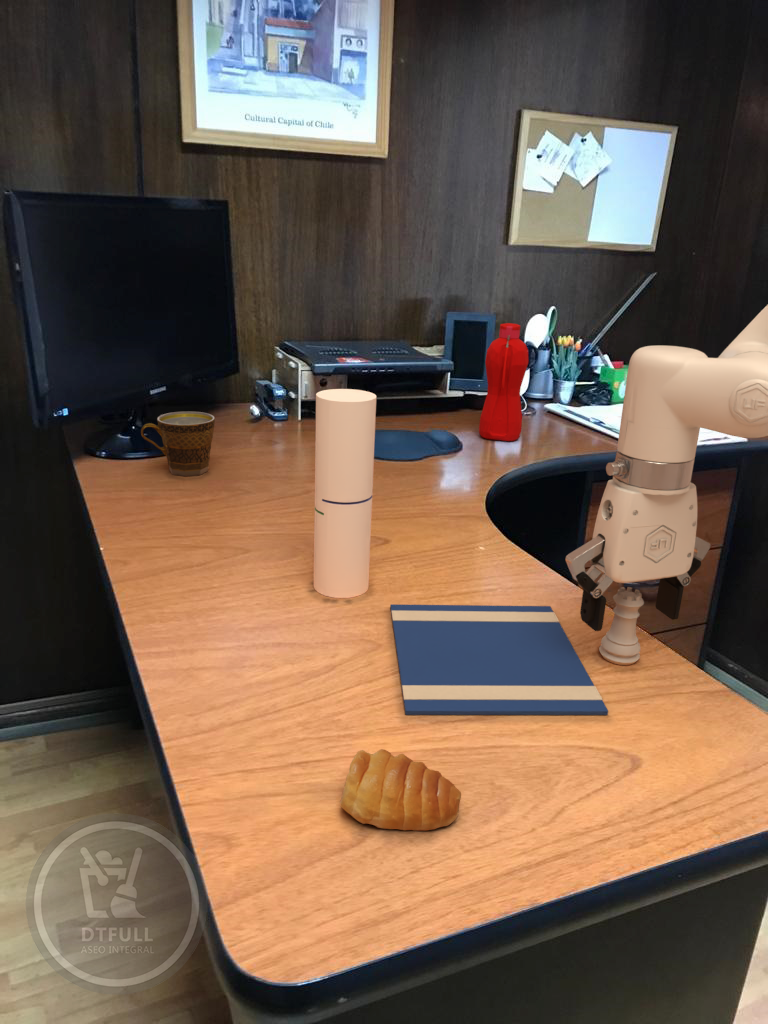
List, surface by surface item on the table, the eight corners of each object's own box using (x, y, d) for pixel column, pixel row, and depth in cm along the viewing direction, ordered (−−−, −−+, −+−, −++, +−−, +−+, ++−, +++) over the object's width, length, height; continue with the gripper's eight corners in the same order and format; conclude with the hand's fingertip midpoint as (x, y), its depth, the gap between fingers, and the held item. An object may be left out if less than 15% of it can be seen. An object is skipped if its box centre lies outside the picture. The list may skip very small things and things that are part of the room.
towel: (549, 609, 96) (550, 605, 96) (607, 715, 76) (608, 710, 76) (390, 607, 95) (390, 603, 95) (405, 715, 75) (405, 709, 74)
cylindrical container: (349, 603, 96) (356, 404, 87) (302, 588, 99) (304, 395, 90) (378, 582, 102) (387, 394, 93) (333, 569, 105) (337, 386, 96)
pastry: (463, 789, 65) (467, 752, 64) (452, 848, 59) (456, 809, 57) (355, 769, 67) (357, 733, 65) (334, 825, 61) (335, 786, 59)
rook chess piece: (643, 652, 87) (654, 589, 85) (635, 671, 84) (647, 605, 81) (603, 642, 89) (613, 579, 87) (594, 659, 86) (604, 594, 83)
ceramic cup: (209, 461, 148) (207, 409, 144) (222, 476, 140) (220, 422, 136) (139, 467, 143) (135, 414, 139) (148, 483, 134) (144, 427, 131)
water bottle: (475, 441, 170) (486, 325, 161) (481, 429, 180) (490, 319, 171) (518, 445, 168) (530, 328, 159) (521, 433, 178) (533, 322, 169)
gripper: (600, 488, 73) (578, 647, 79) (747, 475, 78) (717, 625, 84) (559, 465, 79) (542, 613, 85) (697, 455, 85) (672, 595, 91)
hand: (629, 619), depth 85 cm, fingers open, 9 cm apart
